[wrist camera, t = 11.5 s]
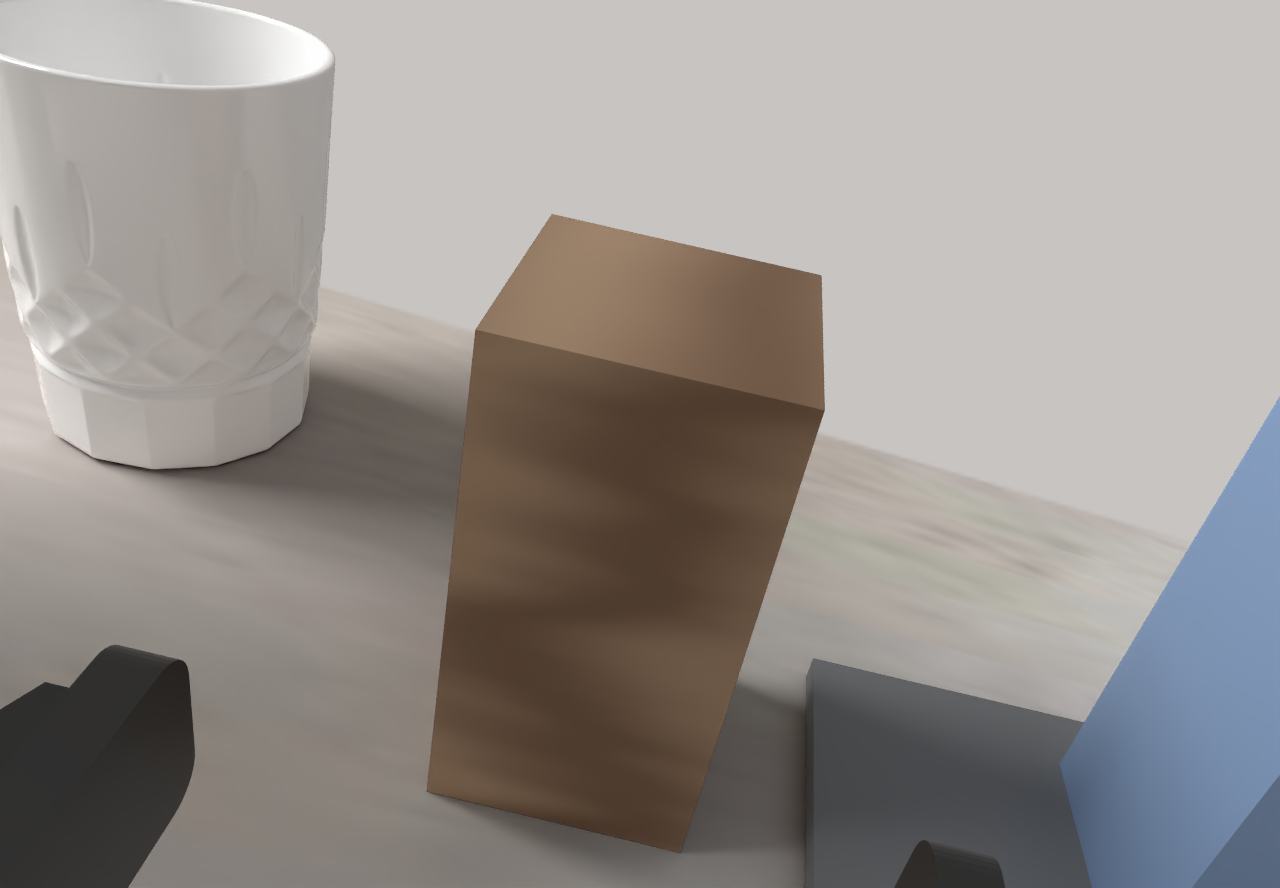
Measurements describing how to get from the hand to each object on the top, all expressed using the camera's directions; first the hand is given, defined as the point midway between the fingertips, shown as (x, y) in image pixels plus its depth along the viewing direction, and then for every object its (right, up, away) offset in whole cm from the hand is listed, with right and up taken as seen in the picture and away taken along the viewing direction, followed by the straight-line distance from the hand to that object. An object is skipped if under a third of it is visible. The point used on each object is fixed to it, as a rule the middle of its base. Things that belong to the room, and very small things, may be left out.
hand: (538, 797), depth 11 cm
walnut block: (0, -2, +11) cm, 11 cm away
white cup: (-12, +5, +18) cm, 22 cm away
